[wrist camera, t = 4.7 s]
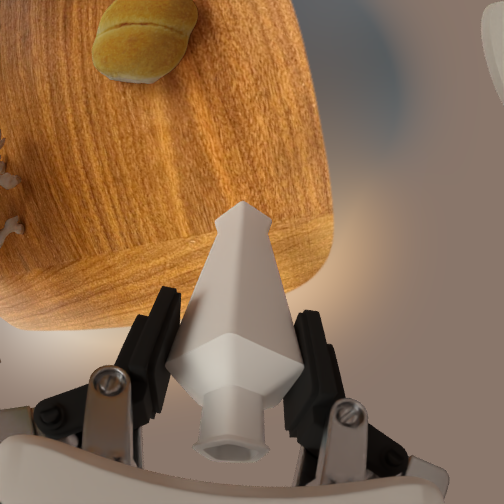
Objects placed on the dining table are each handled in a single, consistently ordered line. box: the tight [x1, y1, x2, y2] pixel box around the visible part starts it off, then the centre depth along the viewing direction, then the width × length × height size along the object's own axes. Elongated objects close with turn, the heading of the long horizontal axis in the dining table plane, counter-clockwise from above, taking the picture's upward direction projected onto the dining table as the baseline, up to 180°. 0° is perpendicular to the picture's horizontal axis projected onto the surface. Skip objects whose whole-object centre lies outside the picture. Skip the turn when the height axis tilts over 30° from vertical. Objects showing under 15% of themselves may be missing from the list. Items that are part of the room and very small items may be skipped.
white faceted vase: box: [165, 201, 304, 463], centre depth 13 cm, size 5×4×15 cm
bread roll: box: [92, 0, 198, 84], centre depth 15 cm, size 8×9×4 cm
